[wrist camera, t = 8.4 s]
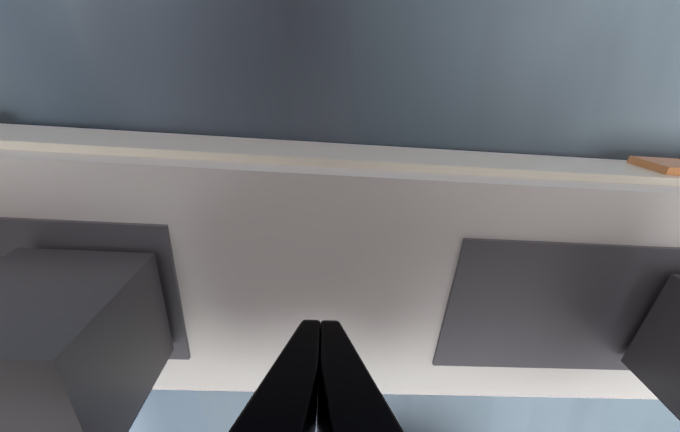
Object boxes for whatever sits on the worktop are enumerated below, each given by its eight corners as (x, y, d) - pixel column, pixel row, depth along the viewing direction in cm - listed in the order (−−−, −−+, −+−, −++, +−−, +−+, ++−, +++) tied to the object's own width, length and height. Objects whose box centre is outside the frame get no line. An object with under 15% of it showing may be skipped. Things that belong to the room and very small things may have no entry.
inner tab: (173, 349, 9) (102, 478, 6) (57, 346, 9) (-71, 477, 6) (155, 252, 7) (53, 359, 5) (18, 247, 7) (-169, 354, 5)
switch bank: (642, 332, 13) (725, 403, 11) (-49, 311, 12) (-165, 386, 9) (747, 157, 10) (903, 190, 8) (-164, 101, 9) (-391, 117, 6)
